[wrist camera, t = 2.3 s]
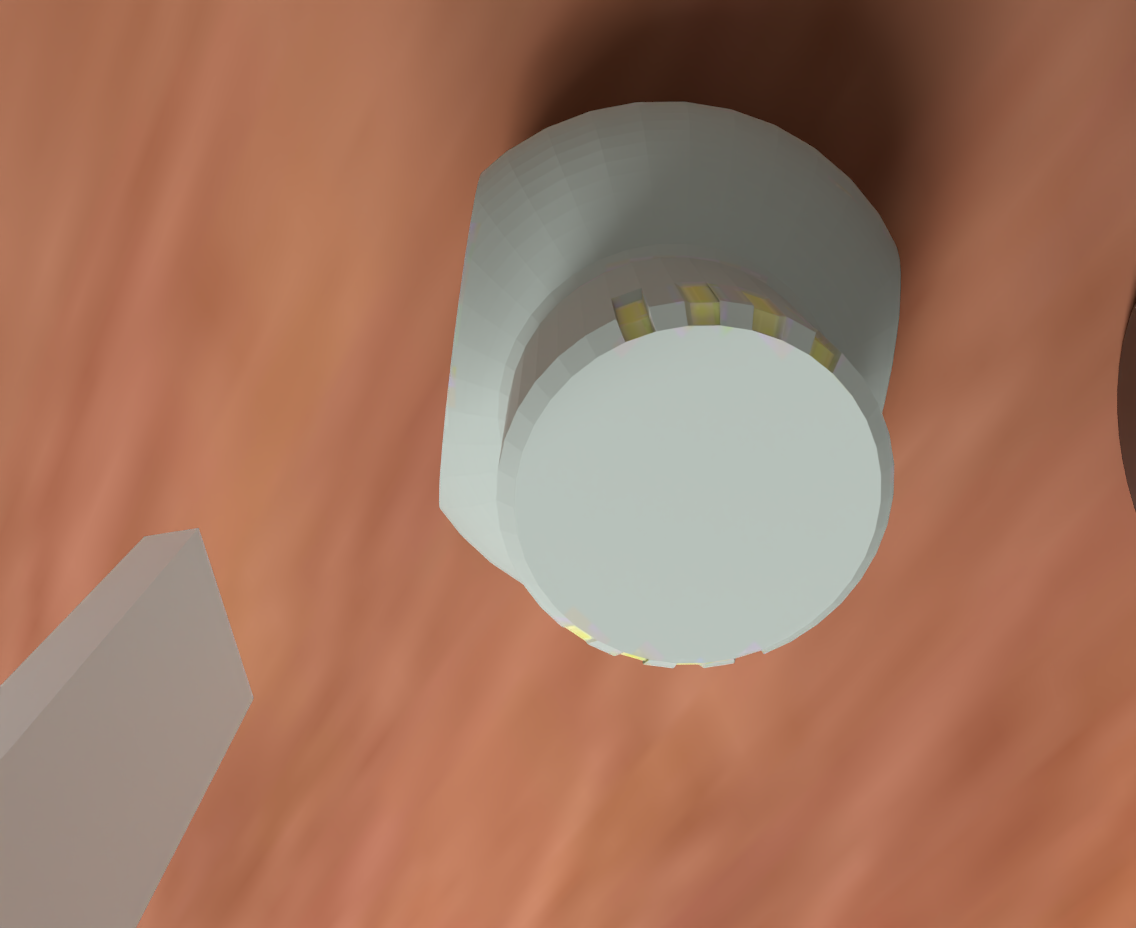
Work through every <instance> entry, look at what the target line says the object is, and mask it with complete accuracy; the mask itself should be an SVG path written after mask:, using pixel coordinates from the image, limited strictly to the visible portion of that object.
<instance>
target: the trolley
mask: <svg viewBox="0 0 1136 928" xmlns="http://www.w3.org/2000/svg"><path fill="white" fill-rule="evenodd" d="M1117 413H1118V427H1119V439H1120V446H1121V453H1122V460H1123V465H1124V469H1125V474H1126V479H1127V483H1128V487H1129V491H1130V494H1131V498H1132V501H1133V505H1134V508H1135V511H1136V303H1135V305H1134V308H1133V311H1132V314H1131V317H1130V319H1129V322H1128V325H1127V329H1126V333H1125V337H1124V341H1123V346H1122V352H1121V358H1120V365H1119V376H1118V389H1117Z"/></svg>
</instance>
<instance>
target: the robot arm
mask: <svg viewBox="0 0 1136 928" xmlns="http://www.w3.org/2000/svg"><path fill="white" fill-rule="evenodd" d="M253 699H254V698H253V694H252V691H251V688H250V685H249V682H248V679H247V676H246V673H245V670H244V667H243V664H242V660H241V657H240V654H239V651H238V648H237V645H236V642H235V639H234V636H233V633H232V630H231V626H230V623H229V620H228V617H227V614H226V611H225V608H224V605H223V602H222V599H221V596H220V592H219V589H218V586H217V583H216V580H215V577H214V574H213V571H212V568H211V565H210V561H209V558H208V555H207V552H206V549H205V546H204V543H203V540H202V537H201V534H200V531H199V528H195V529H189V530H183V531H176V532H170V533H164V534H157V535H151V536H145V537H143V539H142V540H141V541H140V542H139V543H138V544H137V545H136V546H135V547H134V548H133V549H132V550H131V551H130V552H129V553H128V554H127V555H126V556H125V557H124V558H123V559H122V560H121V561H120V562H119V563H118V564H117V565H116V566H115V568H114V569H113V570H112V571H111V572H110V573H109V574H108V575H107V576H106V577H105V578H104V579H103V580H102V581H101V582H100V583H99V584H98V585H97V586H96V587H95V588H94V589H93V590H92V591H91V592H90V593H89V594H88V596H87V597H86V598H85V599H84V600H83V601H82V602H81V603H80V604H79V605H78V606H77V607H76V608H75V609H74V610H73V611H72V612H71V613H70V614H69V615H68V616H67V617H66V618H65V619H64V620H63V621H62V622H61V623H60V625H59V626H58V627H57V628H56V629H55V630H54V631H53V632H52V633H51V634H50V635H49V636H48V637H47V638H46V639H45V640H44V641H43V642H42V643H41V644H40V645H39V646H38V647H37V648H36V649H35V650H34V651H33V653H32V654H31V655H30V656H29V657H28V658H27V659H26V660H25V661H24V662H23V663H22V664H21V665H20V666H19V667H18V668H17V669H16V670H15V671H14V672H13V673H12V674H11V675H10V676H9V677H8V678H7V679H6V680H5V682H4V683H3V684H2V685H1V686H0V928H136V927H137V925H138V923H139V921H140V919H141V917H142V915H143V913H144V911H145V909H146V907H147V905H148V903H149V901H150V899H151V898H152V896H153V894H154V892H155V890H156V888H157V886H158V884H159V882H160V880H161V878H162V876H163V874H164V872H165V870H166V868H167V866H168V864H169V862H170V860H171V859H172V857H173V855H174V853H175V851H176V849H177V847H178V845H179V843H180V841H181V839H182V837H183V835H184V833H185V831H186V829H187V827H188V825H189V823H190V821H191V820H192V818H193V816H194V814H195V812H196V810H197V808H198V806H199V804H200V802H201V800H202V798H203V796H204V794H205V792H206V790H207V788H208V786H209V784H210V782H211V781H212V779H213V777H214V775H215V773H216V771H217V769H218V767H219V765H220V763H221V761H222V759H223V757H224V755H225V753H226V751H227V749H228V747H229V745H230V743H231V742H232V740H233V738H234V736H235V734H236V732H237V730H238V728H239V726H240V724H241V722H242V720H243V718H244V716H245V714H246V712H247V710H248V708H249V706H250V704H251V703H252V701H253Z"/></svg>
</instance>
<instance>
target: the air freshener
mask: <svg viewBox="0 0 1136 928" xmlns="http://www.w3.org/2000/svg"><path fill="white" fill-rule="evenodd" d="M900 291H901V269H900V258H899V254H898V250H897V247H896V245H895V242H894V240H893V239H892V237H891V235H890V233H889V231H888V229H887V228H886V226H885V224H884V222H883V220H882V218H881V217H880V215H879V213H878V212H877V211H876V210H875V208H874V207H873V206H872V205H871V203H870V202H869V201H868V200H867V198H866V197H865V196H864V195H863V193H862V192H861V191H860V190H859V188H858V187H857V186H856V185H855V184H854V182H853V181H852V180H851V179H850V178H849V177H848V176H847V175H846V174H844V173H843V172H842V171H841V170H840V169H839V168H837V167H836V166H835V165H834V164H833V163H832V162H830V161H829V160H828V159H827V158H826V157H825V156H823V155H822V154H821V153H820V152H819V151H818V150H816V149H815V148H814V147H812V146H810V145H809V144H807V143H805V142H804V141H802V140H800V139H798V138H797V137H795V136H793V135H791V134H790V133H788V132H786V131H785V130H783V129H781V128H779V127H778V126H776V125H774V124H771V123H768V122H765V121H763V120H760V119H757V118H754V117H751V116H749V115H746V114H743V113H740V112H737V111H735V110H732V109H727V108H721V107H715V106H709V105H702V104H696V103H690V102H635V103H630V104H625V105H619V106H614V107H609V108H604V109H599V110H593V111H589V112H587V113H584V114H581V115H579V116H576V117H573V118H571V119H568V120H566V121H563V122H560V123H558V124H555V125H552V126H550V127H547V128H545V129H544V130H542V131H540V132H538V133H537V134H535V135H533V136H532V137H530V138H528V139H527V140H525V141H523V142H522V143H520V144H518V145H517V146H515V147H513V148H512V149H510V150H508V151H507V152H505V153H504V154H503V155H502V156H501V157H499V158H498V159H497V160H496V161H495V162H494V163H492V164H491V165H490V166H489V167H488V168H487V169H485V170H484V171H483V172H482V173H481V175H480V178H479V182H478V186H477V190H476V195H475V200H474V206H473V211H472V217H471V223H470V229H469V235H468V241H467V248H466V254H465V261H464V268H463V275H462V282H461V289H460V296H459V304H458V311H457V319H456V327H455V335H454V343H453V351H452V359H451V368H450V376H449V385H448V395H447V404H446V413H445V424H444V434H443V445H442V457H441V470H440V489H439V506H440V509H441V510H442V511H443V513H444V514H445V515H446V516H447V518H448V519H449V520H450V522H451V523H452V524H453V525H454V527H455V528H456V529H457V531H458V532H459V533H460V534H461V535H462V536H463V537H464V538H465V539H466V540H467V541H468V542H469V543H470V544H471V545H472V546H473V547H475V548H476V549H477V550H478V551H479V552H480V553H481V554H482V555H483V556H484V557H485V558H486V559H487V560H489V561H490V562H491V563H492V564H494V565H495V566H497V567H498V568H500V569H501V570H503V571H504V572H506V573H507V574H509V575H510V576H512V577H513V578H515V579H516V580H518V581H519V582H521V583H522V584H523V585H524V586H525V587H526V589H527V590H528V591H529V593H530V594H531V595H532V596H533V598H534V599H535V600H536V602H537V603H538V604H539V606H540V607H541V608H542V609H543V610H544V611H545V612H546V613H548V614H549V615H550V616H551V617H552V618H553V619H554V620H555V621H556V622H557V623H558V624H559V625H561V626H562V627H565V628H567V629H568V630H570V631H571V632H573V633H574V634H576V635H577V636H579V637H580V638H582V639H584V640H585V641H586V642H587V644H589V645H591V646H593V647H596V648H598V649H600V650H602V651H604V652H607V653H609V654H611V655H613V656H616V655H618V654H622V655H625V656H629V657H632V658H636V659H639V660H643V664H645V665H652V666H660V667H668V668H674V667H675V666H676V665H682V664H699V665H700V666H702V667H703V668H706V667H713V666H719V665H726V664H732V663H734V662H735V658H738V657H741V656H744V655H748V654H751V653H754V652H758V651H762V652H763V654H765V653H767V652H770V651H772V650H774V649H776V648H778V647H780V646H782V645H785V644H787V643H789V642H791V641H793V640H794V639H796V638H797V637H799V636H800V635H802V634H803V633H805V632H806V631H808V630H810V629H811V628H813V627H814V626H816V625H817V624H818V623H820V622H821V621H822V620H823V619H824V618H825V617H826V616H827V615H829V614H830V613H831V612H832V611H833V610H834V609H835V608H836V607H838V606H839V605H840V604H841V603H842V602H843V600H844V599H845V598H846V597H847V596H848V594H849V593H850V592H851V591H852V590H853V588H854V587H855V586H856V585H857V583H858V582H859V581H860V580H861V578H862V577H863V575H864V573H865V571H866V570H867V568H868V566H869V565H870V563H871V561H872V560H873V558H874V556H875V555H876V553H877V550H878V547H879V545H880V542H881V540H882V537H883V535H884V532H885V529H886V527H887V524H888V519H889V514H890V509H891V504H892V499H893V489H894V461H893V454H892V448H891V442H890V435H889V432H888V429H887V426H886V423H885V421H884V418H883V415H882V411H883V407H884V403H885V398H886V393H887V388H888V384H889V379H890V374H891V369H892V364H893V357H894V351H895V344H896V337H897V330H898V322H899V311H900Z"/></svg>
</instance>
